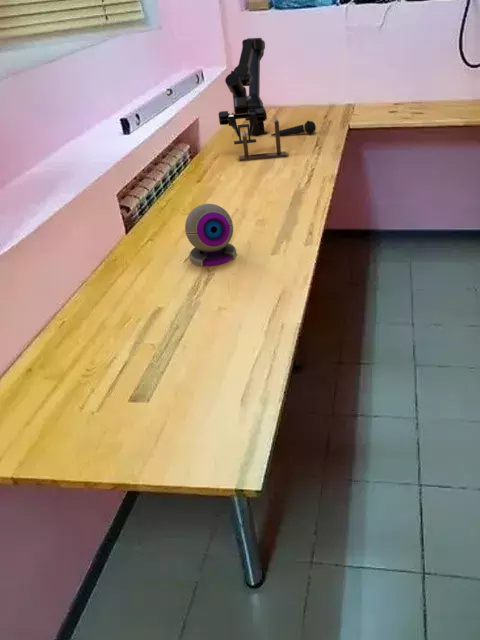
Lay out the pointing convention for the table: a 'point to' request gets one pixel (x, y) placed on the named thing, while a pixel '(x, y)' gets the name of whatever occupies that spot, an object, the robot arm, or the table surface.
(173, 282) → the table surface
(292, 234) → the table surface
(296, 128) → the microphone
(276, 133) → the rack
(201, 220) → the webcam
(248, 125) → the black piece
